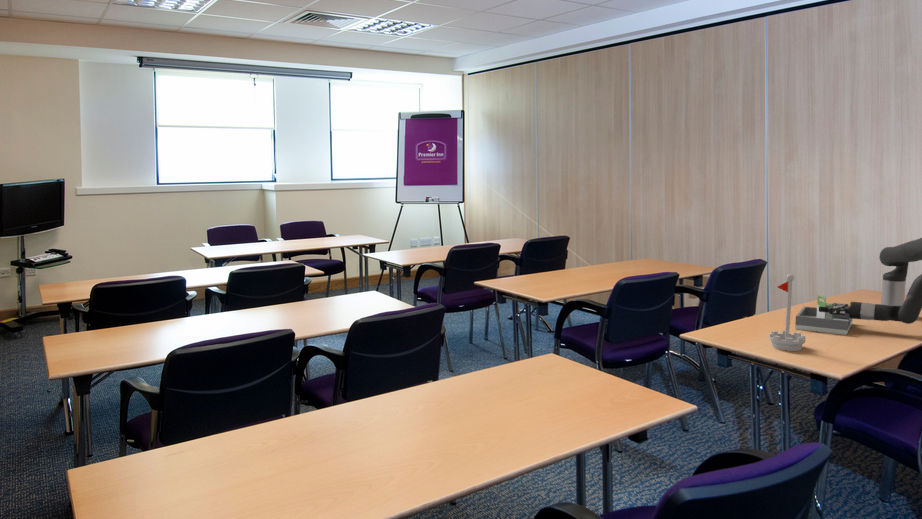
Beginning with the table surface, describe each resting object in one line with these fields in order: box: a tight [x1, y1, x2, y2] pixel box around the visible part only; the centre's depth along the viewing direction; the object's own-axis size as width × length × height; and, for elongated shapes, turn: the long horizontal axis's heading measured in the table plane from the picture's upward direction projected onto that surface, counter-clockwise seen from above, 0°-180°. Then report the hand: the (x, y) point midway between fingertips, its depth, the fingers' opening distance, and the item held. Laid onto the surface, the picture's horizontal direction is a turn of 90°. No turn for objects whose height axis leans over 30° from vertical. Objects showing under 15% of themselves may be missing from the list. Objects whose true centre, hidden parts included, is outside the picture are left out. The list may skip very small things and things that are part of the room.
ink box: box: [816, 294, 834, 319], centre depth 289 cm, size 7×4×13 cm, turn 179°
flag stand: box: [768, 273, 806, 352], centre depth 256 cm, size 13×13×30 cm
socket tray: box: [794, 306, 853, 336], centre depth 290 cm, size 24×20×6 cm
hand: (820, 307), depth 290 cm, fingers closed on ink box, 8 cm apart
